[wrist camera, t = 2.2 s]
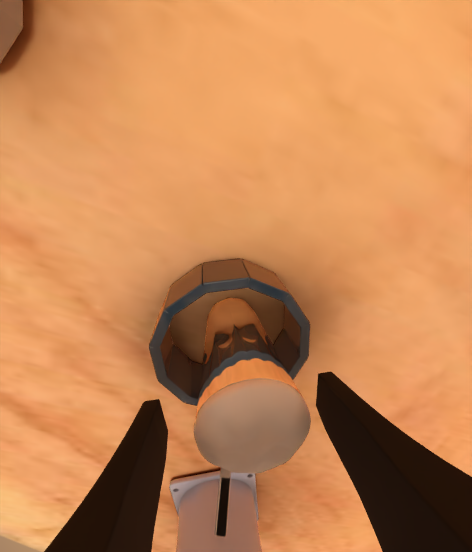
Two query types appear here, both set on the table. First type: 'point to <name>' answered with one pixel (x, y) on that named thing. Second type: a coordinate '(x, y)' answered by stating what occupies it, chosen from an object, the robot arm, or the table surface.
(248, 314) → the milkshake
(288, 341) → the brown hollow ring
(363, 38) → the table surface
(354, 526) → the table surface
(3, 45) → the water bottle
